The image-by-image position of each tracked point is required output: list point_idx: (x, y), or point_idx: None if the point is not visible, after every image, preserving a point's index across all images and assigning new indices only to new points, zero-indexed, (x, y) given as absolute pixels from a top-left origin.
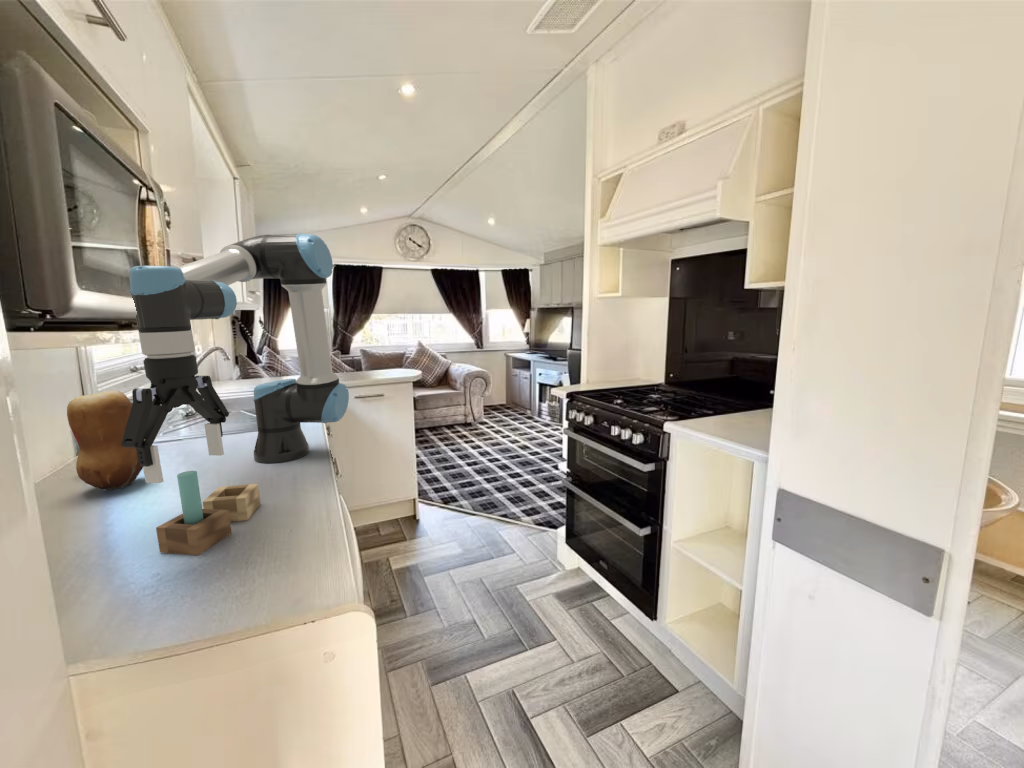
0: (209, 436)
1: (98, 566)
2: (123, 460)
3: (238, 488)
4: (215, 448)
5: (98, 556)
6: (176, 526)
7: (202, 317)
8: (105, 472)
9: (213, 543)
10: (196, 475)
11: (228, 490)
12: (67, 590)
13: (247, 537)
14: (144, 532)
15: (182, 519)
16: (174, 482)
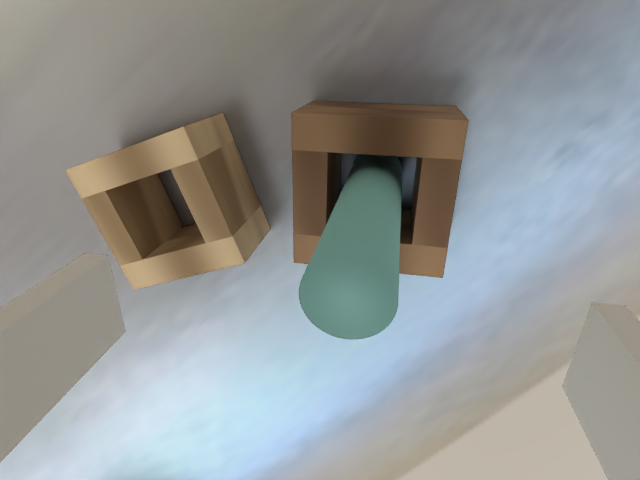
0: (13, 415)
1: (500, 336)
2: None
3: (121, 216)
4: (80, 315)
5: (450, 369)
6: (435, 215)
7: None
8: None
9: (391, 104)
10: (333, 248)
11: (140, 245)
12: None
13: (333, 15)
14: (331, 351)
15: None
16: (96, 451)
